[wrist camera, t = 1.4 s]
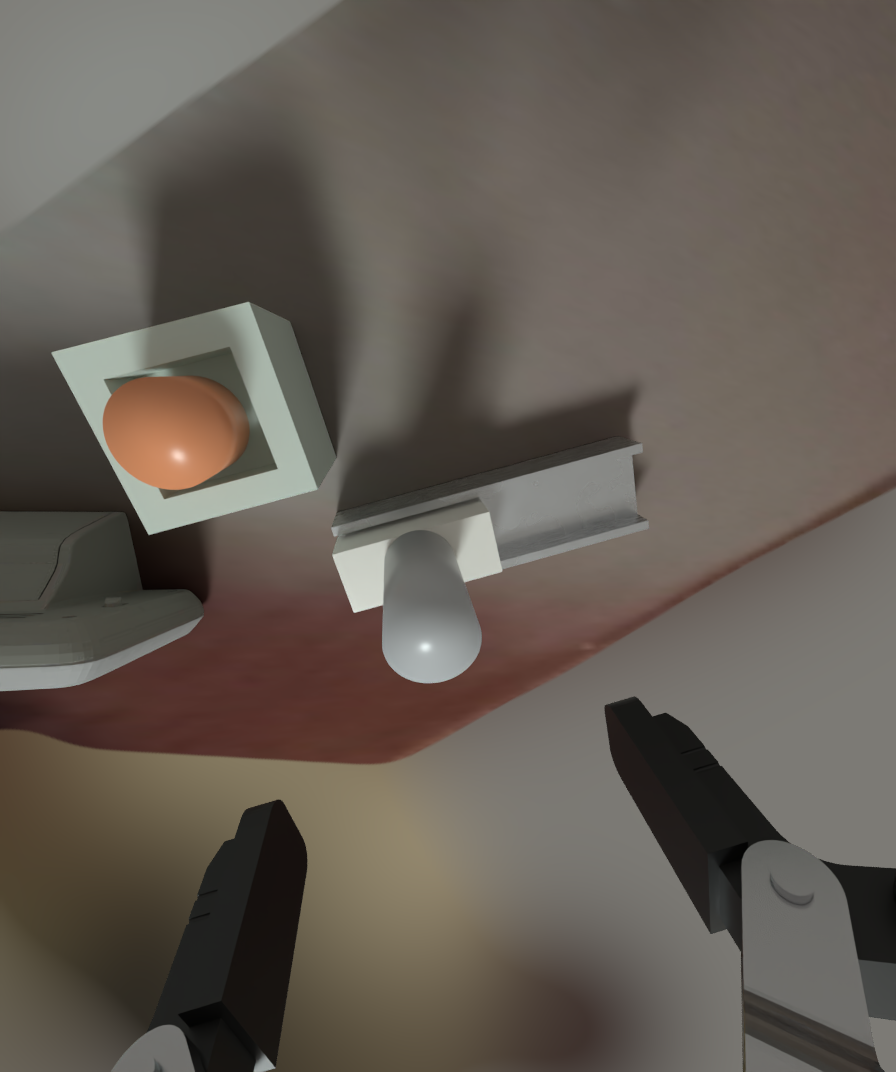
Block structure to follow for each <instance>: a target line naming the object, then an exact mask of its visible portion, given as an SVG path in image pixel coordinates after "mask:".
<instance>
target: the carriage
mask: <svg viewBox="0 0 896 1072" xmlns="http://www.w3.org/2000/svg"><path fill="white" fill-rule="evenodd" d="M332 556H333V558H334V561H335V564H336V566H337V569H338V572H339V574H340V577H341V580H342V582H343V585H344V588H345V590H346V593H347V596H348V598H349V601H350V604H351V606H352V609H353V612H354V613H356V612H359V611H363V610H366V609H370V608H374V607H377V606H381V605H383V632H382V647H383V653H384V656H385V658H386V660H387V662H388V664H389V665H390V666H391V668H392V669H393V670H394V671H395V672H397V673H398V674H399V675H401V676H402V677H404V678H406V679H409V680H412V681H415V682H420V683H437V682H442V681H446V680H449V679H451V678H454V677H456V676H457V675H459V674H461V673H462V672H463V671H465V670H466V669H467V668H468V667H469V666H470V665H471V664H472V663H473V661H474V660H475V658H476V657H477V655H478V653H479V650H480V647H481V641H482V633H481V628H480V625H479V622H478V619H477V616H476V614H475V611H474V608H473V605H472V602H471V599H470V597H469V594H468V591H467V588H466V585H465V583H464V582H467V581H471V580H474V579H478V578H481V577H485V576H489V575H492V574H496V573H499V572H502V567H501V563H500V558H499V554H498V549H497V544H496V540H495V535H494V531H493V526H492V522H491V517H490V513H489V511H488V509H487V508H486V506H485V505H484V504H483V502H482V501H481V499H480V498H479V497H478V498H474V499H471V500H467V501H463V502H460V503H456V504H452V505H449V506H445V507H441V508H438V509H434V510H430V511H427V512H423V513H419V514H416V515H412V516H408V517H405V518H401V519H397V520H394V521H390V522H386V523H383V524H379V525H375V526H372V527H368V528H365V529H361V530H357V531H354V532H350V533H346V534H343V535H339V536H338V537H337V541H336V544H335V547H334V550H333V554H332Z"/></svg>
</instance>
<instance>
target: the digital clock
mask: <svg viewBox="0 0 896 1072" xmlns="http://www.w3.org/2000/svg"><path fill="white" fill-rule="evenodd" d="M33 613H43V614H33ZM203 613H204V609H203V606H202V603H201V601H200V600H199V599H198V598H197V597H196V596H195V595H194V594H193V593H192V592H191V591H189V590H185V589H168V590H143V589H142V584H141V580H140V575H139V570H138V566H137V561H136V556H135V552H134V547H133V542H132V537H131V533H130V528H129V523H128V519H127V516H126V514H125V513H123V512H7V511H0V614H15V615H0V691H10V690H28V689H47V688H61V687H69V686H75V685H79V684H82V683H85V682H88V681H91V680H93V679H95V678H97V677H100V676H102V675H104V674H106V673H108V672H110V671H112V670H114V669H117V668H119V667H121V666H123V665H125V664H127V663H129V662H131V661H133V660H135V659H137V658H139V657H141V656H143V655H145V654H147V653H149V652H152V651H154V650H156V649H158V648H160V647H162V646H164V645H166V644H168V643H170V642H172V641H174V640H176V639H178V638H180V637H182V636H184V635H186V634H188V633H189V632H190V631H191V630H192V629H193V628H194V627H195V626H196V625H197V623H198V622H199V621H200V620H201V618H202V617H203V616H204V614H203Z"/></svg>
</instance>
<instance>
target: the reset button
mask: <svg viewBox="0 0 896 1072" xmlns="http://www.w3.org/2000/svg"><path fill="white" fill-rule="evenodd" d="M103 432H104V437H105V440H106V443H107V446H108V448H109V450H110V452H111V453H112V455H113V457H114V458H115V459H116V461H117V462H118V463H119V464H120V465H121V466H122V467H123V468H124V469H125V470H126V471H127V472H128V473H129V474H131V475H132V476H133V477H135V478H136V479H138V480H140V481H142V482H144V483H146V484H148V485H151V486H154V487H157V488H161V489H168V490H180V489H186V488H191V487H194V486H196V485H198V484H200V483H202V482H204V481H205V480H207V479H209V478H210V477H212V476H214V475H215V474H217V473H219V472H220V471H222V470H224V469H225V468H227V467H229V466H230V465H232V464H233V463H235V462H236V461H237V460H238V459H239V458H240V457H241V456H242V454H243V453H244V451H245V449H246V447H247V444H248V441H249V434H250V428H249V421H248V417H247V414H246V412H245V410H244V408H243V406H242V404H241V403H240V401H239V400H238V399H237V397H236V396H235V395H234V394H233V393H232V392H231V391H230V390H228V389H227V388H226V387H225V386H223V385H221V384H220V383H218V382H216V381H214V380H211V379H209V378H205V377H201V376H165V377H144V378H138V379H135V380H132V381H129V382H127V383H125V384H123V385H122V386H121V387H119V388H118V389H117V390H116V391H115V392H114V393H113V394H112V395H111V397H110V398H109V400H108V402H107V404H106V406H105V409H104V413H103Z"/></svg>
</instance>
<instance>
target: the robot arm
mask: <svg viewBox="0 0 896 1072" xmlns="http://www.w3.org/2000/svg"><path fill="white" fill-rule="evenodd" d="M605 717H606V723H607V731H608V738H609V745H610V751H611V755H612V758H613V761H614V764H615V766H616V769H617V771H618V773H619V775H620V777H621V779H622V781H623V783H624V784H625V786H626V788H627V790H628V791H629V793H630V795H631V796H632V798H633V800H634V801H635V803H636V805H637V807H638V809H639V810H640V812H641V814H642V815H643V817H644V819H645V821H646V823H647V824H648V826H649V827H650V829H651V831H652V833H653V835H654V836H655V838H656V840H657V842H658V843H659V845H660V847H661V848H662V850H663V852H664V854H665V855H666V857H667V859H668V860H669V862H670V864H671V866H672V867H673V869H674V871H675V873H676V875H677V876H678V878H679V880H680V882H681V883H682V885H683V887H684V888H685V890H686V892H687V894H688V895H689V897H690V899H691V901H692V902H693V904H694V906H695V908H696V909H697V911H698V913H699V915H700V916H701V918H702V920H703V921H704V923H705V925H706V927H707V928H708V930H709V932H710V934H713V933H716V932H719V931H722V930H725V929H727V930H728V931H729V933H730V935H731V936H732V938H733V939H734V941H735V943H736V945H737V946H738V948H739V949H740V951H741V985H742V986H741V987H742V1052H743V1053H742V1055H743V1072H884V1070H883V1069H882V1068H881V1067H880V1065H879V1062H878V1059H877V1056H876V1052H875V1048H874V1042H873V1037H872V1032H871V1026H870V1021H869V1017H874V1018H881V1019H888V1020H896V869H895V868H879V867H863V866H849V865H839V864H834V863H830V862H826V861H823V860H821V859H818V858H816V857H815V856H814V855H812V854H811V853H809V852H808V851H806V850H804V849H802V848H800V847H798V846H796V845H793V844H791V843H789V842H788V841H787V840H786V839H785V838H783V837H782V836H781V835H780V834H779V833H778V832H777V831H776V829H775V828H774V827H773V826H772V825H771V824H770V822H769V821H768V820H767V819H766V818H765V817H764V815H763V814H762V813H761V812H760V811H759V810H758V808H757V807H756V806H755V805H754V804H753V802H752V801H751V800H750V799H749V798H748V797H747V795H746V794H745V793H744V792H743V791H742V789H741V788H740V787H739V786H738V785H737V784H736V782H735V781H734V780H733V779H732V778H731V777H730V775H729V774H728V773H727V772H726V771H725V769H724V768H723V767H722V766H720V765H719V764H718V761H717V760H716V759H715V758H714V756H713V755H712V754H711V753H710V752H709V751H708V750H706V749H705V746H704V745H703V743H702V742H701V741H700V740H699V739H698V738H697V736H696V735H695V734H694V733H693V732H692V731H691V730H690V728H689V727H688V726H686V725H685V724H683V723H682V722H680V721H678V720H677V719H675V718H674V717H672V716H670V715H669V714H667V713H663V714H660V715H656V716H653V717H652V716H651V714H650V713H649V712H648V710H647V709H646V708H645V706H644V705H643V704H642V703H641V701H640V700H639V699H638V698H636V697H631V698H628V699H624V700H621V701H618V702H614V703H611V704H608V705H605ZM306 873H307V851H306V846H305V843H304V840H303V838H302V836H301V834H300V832H299V830H298V828H297V827H296V825H295V823H294V821H293V819H292V817H291V816H290V814H289V812H288V810H287V808H286V806H285V804H284V803H283V802H282V801H281V800H276V801H272V802H269V803H265V804H262V805H258V806H255V807H251V808H248V809H246V810H245V812H244V813H243V815H242V817H241V820H240V823H239V826H238V830H237V833H236V835H235V838H234V839H231V840H228V841H225V842H224V843H223V845H222V846H221V848H220V849H219V851H218V852H217V854H216V855H215V857H214V858H213V860H212V861H211V863H210V865H209V866H208V867H207V870H206V872H205V875H204V878H203V881H202V884H201V886H200V889H199V892H198V895H197V896H198V899H197V901H195V903H194V906H193V909H192V911H191V914H190V917H189V924H188V925H186V928H185V931H184V934H183V936H182V939H181V942H180V945H179V947H178V950H177V953H176V956H175V958H174V961H173V964H172V967H171V970H170V973H169V975H168V978H167V981H166V983H165V986H164V989H163V992H162V994H161V997H160V1000H159V1003H158V1006H157V1008H156V1011H155V1014H154V1017H153V1019H152V1022H151V1024H150V1026H149V1029H148V1031H147V1033H146V1034H145V1035H143V1036H142V1037H141V1038H139V1039H138V1040H137V1041H136V1042H135V1043H134V1044H133V1045H132V1046H131V1047H130V1048H129V1049H128V1050H127V1051H126V1052H125V1053H124V1054H123V1056H122V1057H121V1058H120V1059H119V1061H118V1062H117V1063H116V1065H115V1066H114V1068H113V1069H112V1071H111V1072H264V1071H267V1070H271V1069H274V1068H276V1061H277V1055H278V1048H279V1042H280V1036H281V1030H282V1023H283V1017H284V1011H285V1005H286V998H287V992H288V985H289V979H290V973H291V967H292V961H293V954H294V948H295V942H296V935H297V929H298V923H299V917H300V911H301V904H302V898H303V891H304V885H305V879H306Z"/></svg>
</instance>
